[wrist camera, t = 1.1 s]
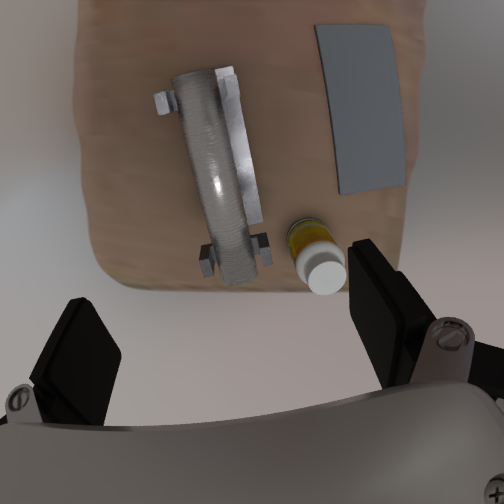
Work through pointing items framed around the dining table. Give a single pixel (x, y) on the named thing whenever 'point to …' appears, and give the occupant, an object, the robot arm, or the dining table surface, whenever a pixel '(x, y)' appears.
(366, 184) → the slate mat
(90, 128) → the dining table surface
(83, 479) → the robot arm
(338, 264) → the supplement bottle
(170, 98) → the hook stand
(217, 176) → the grey metallic bar
